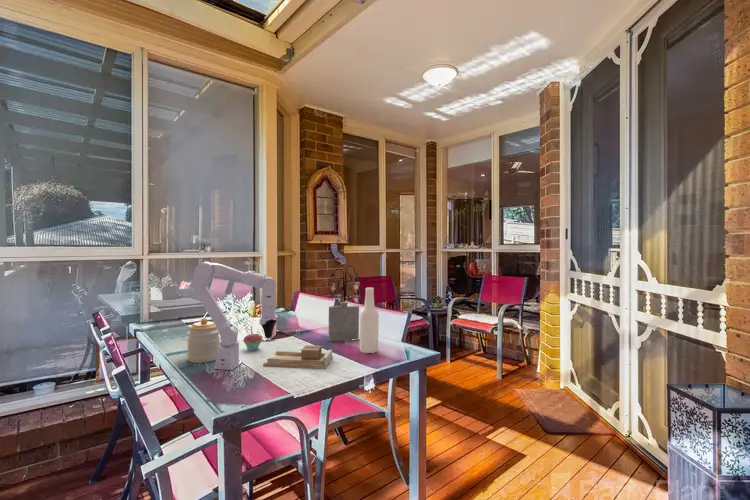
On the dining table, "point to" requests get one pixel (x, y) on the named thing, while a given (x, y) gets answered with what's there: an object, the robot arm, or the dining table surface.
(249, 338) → the cupcake
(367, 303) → the alcohol
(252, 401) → the dining table surface
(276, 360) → the bay
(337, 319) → the hip flask
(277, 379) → the dining table surface
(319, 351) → the block
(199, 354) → the jar
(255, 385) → the dining table surface
